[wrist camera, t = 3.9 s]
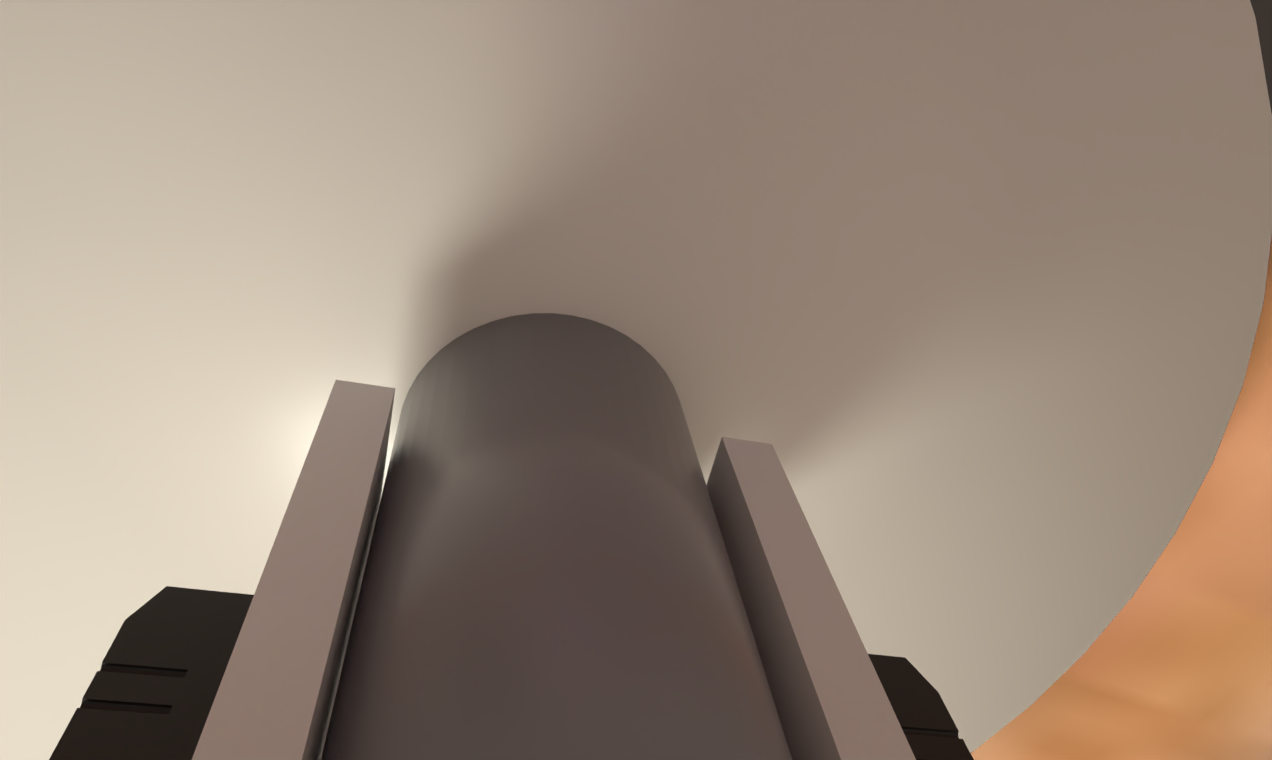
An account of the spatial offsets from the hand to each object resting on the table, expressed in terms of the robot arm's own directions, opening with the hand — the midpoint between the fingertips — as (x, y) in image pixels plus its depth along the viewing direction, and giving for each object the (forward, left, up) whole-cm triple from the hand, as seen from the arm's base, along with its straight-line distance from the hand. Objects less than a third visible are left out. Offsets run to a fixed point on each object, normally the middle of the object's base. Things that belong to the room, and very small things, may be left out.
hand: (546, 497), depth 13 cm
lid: (0, 0, -3) cm, 3 cm away
